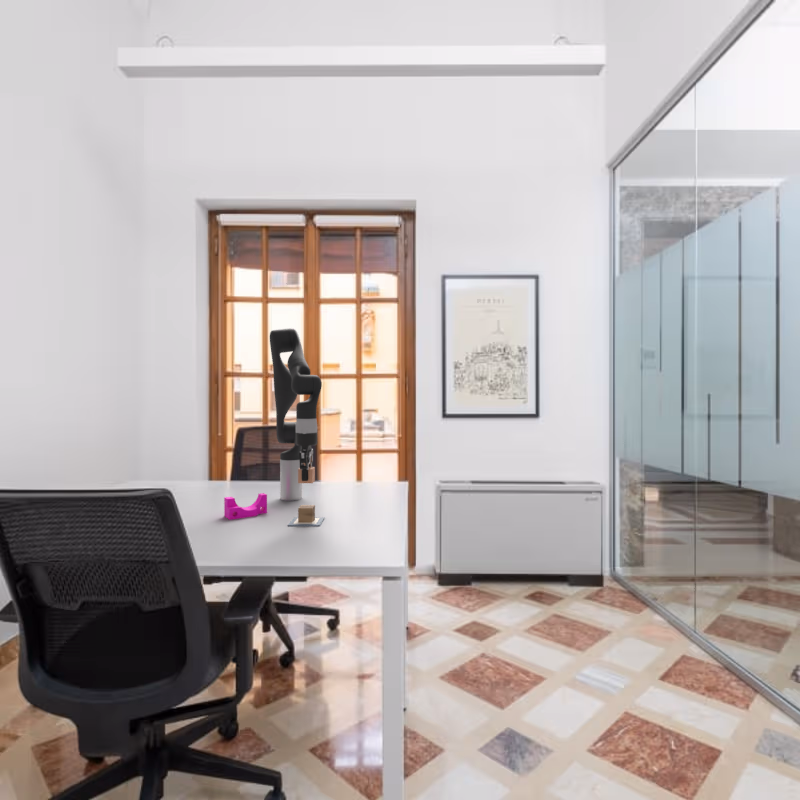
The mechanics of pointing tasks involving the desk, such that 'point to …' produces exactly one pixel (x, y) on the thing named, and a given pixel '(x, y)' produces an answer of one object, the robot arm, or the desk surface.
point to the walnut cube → (306, 513)
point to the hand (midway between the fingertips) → (306, 479)
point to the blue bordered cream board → (315, 523)
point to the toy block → (244, 508)
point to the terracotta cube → (310, 475)
